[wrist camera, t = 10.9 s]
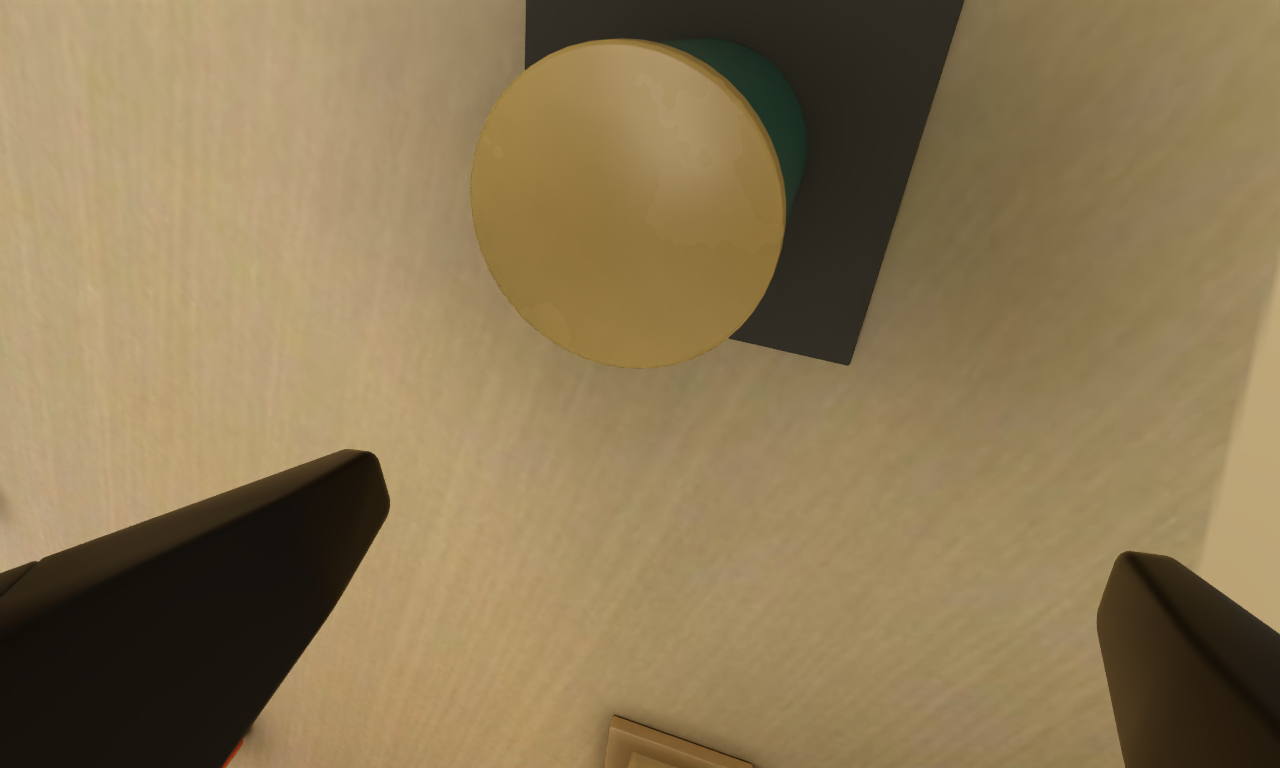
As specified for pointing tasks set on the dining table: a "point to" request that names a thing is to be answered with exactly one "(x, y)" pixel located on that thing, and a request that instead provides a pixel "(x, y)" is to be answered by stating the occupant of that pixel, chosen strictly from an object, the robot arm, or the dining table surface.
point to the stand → (658, 750)
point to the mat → (808, 132)
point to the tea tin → (639, 194)
